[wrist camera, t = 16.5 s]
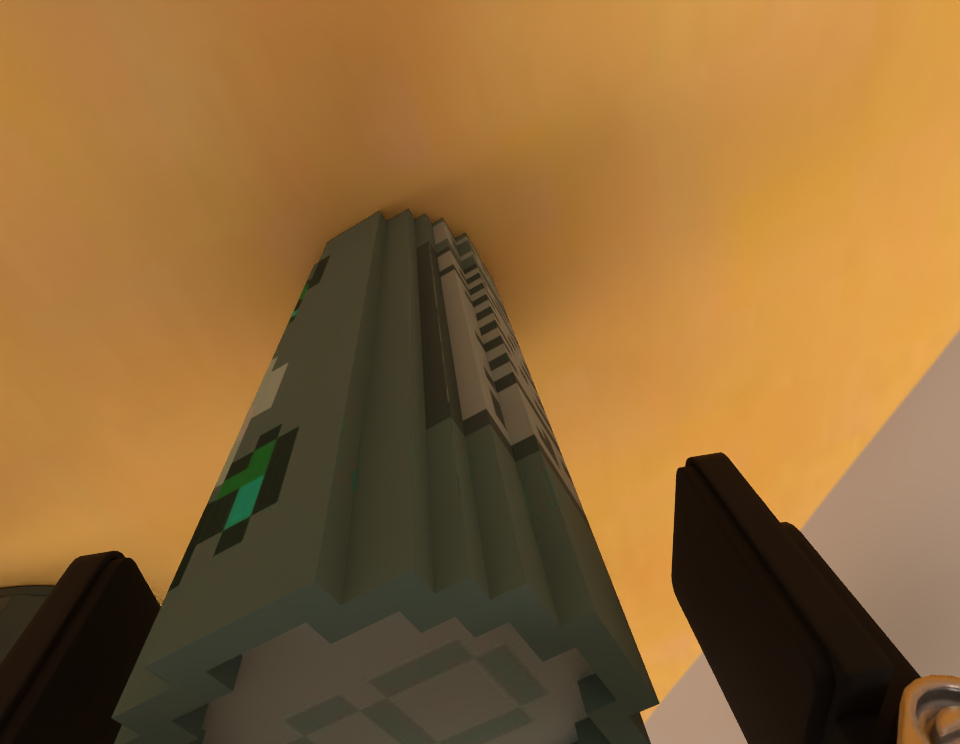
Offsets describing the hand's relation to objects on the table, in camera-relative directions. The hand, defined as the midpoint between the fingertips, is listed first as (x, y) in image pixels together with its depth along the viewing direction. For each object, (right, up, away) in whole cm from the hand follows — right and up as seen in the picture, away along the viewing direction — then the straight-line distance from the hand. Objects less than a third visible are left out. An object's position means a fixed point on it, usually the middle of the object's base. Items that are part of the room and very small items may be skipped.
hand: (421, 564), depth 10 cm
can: (-2, +6, +10) cm, 12 cm away
